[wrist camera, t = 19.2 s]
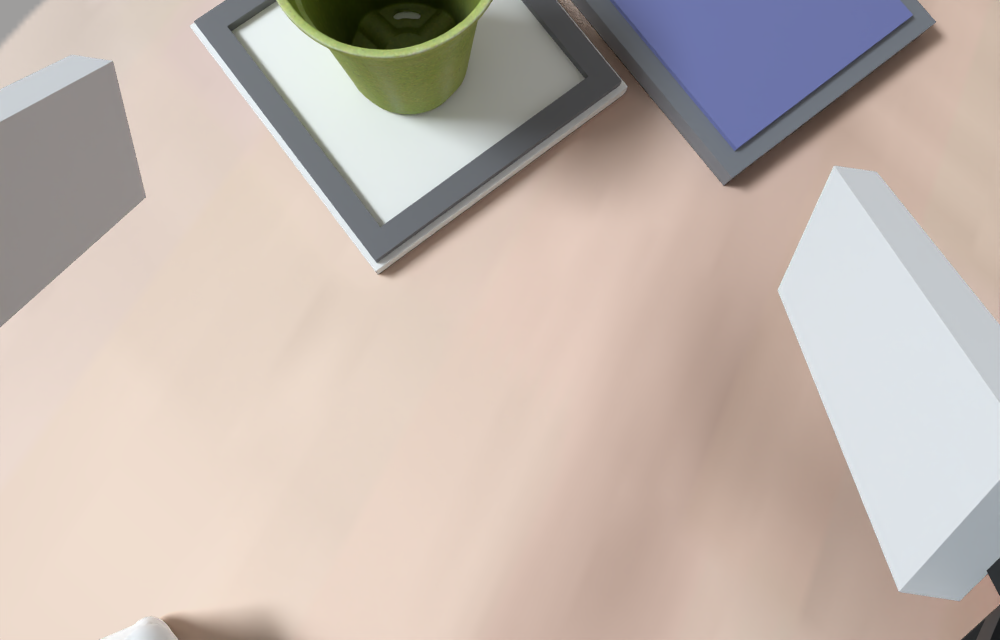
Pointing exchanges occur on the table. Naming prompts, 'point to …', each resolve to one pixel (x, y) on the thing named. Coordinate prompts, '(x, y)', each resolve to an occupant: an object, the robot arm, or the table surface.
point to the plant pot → (395, 45)
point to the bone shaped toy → (144, 631)
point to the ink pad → (750, 62)
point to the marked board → (413, 115)
